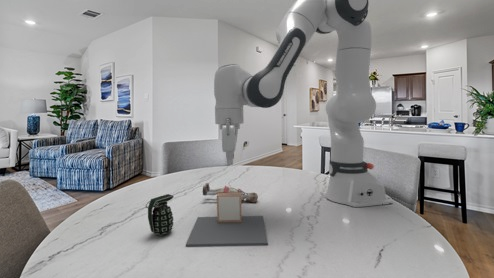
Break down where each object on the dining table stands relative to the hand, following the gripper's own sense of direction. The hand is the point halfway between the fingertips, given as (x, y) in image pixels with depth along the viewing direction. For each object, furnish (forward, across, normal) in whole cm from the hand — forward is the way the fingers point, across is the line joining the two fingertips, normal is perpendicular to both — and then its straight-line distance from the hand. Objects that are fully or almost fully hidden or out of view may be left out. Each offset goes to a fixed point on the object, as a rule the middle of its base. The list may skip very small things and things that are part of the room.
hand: (230, 161), depth 80 cm
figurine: (+17, +11, +1) cm, 20 cm away
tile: (+16, -7, 0) cm, 18 cm away
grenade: (+17, -13, +18) cm, 28 cm away
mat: (+17, -12, 0) cm, 21 cm away
